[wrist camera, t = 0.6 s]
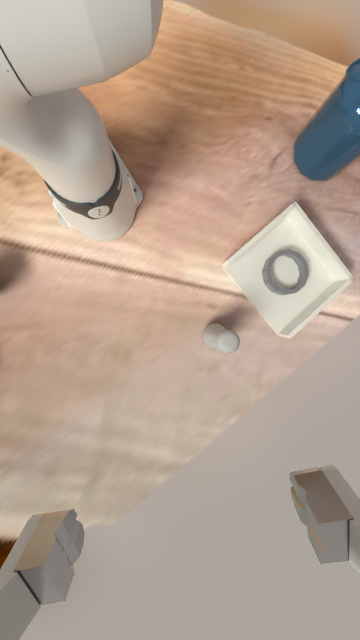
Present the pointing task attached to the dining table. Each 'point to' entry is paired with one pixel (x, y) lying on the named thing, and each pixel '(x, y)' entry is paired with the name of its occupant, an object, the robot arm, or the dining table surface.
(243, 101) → the dining table surface
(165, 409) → the dining table surface
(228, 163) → the dining table surface
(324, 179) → the wine bottle
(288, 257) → the box
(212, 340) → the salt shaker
